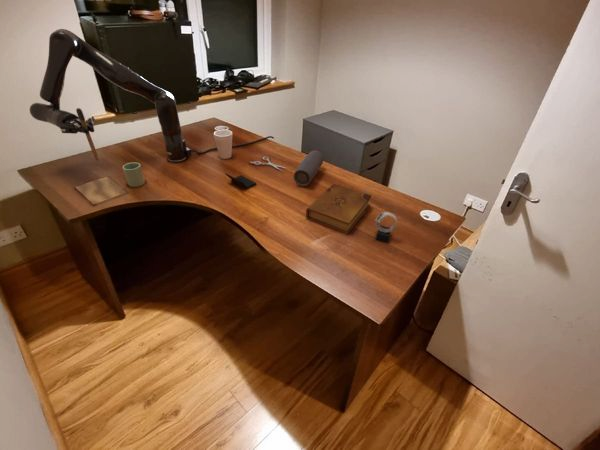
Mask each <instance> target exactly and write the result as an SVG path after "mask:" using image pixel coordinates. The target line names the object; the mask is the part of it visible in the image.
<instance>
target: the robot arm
mask: <svg viewBox="0 0 600 450" xmlns="http://www.w3.org/2000/svg"><path fill="white" fill-rule="evenodd" d="M48 38H49V39H48V57H47V64H46V70H45V72H44V76H43V79H42V83H41V86H40V90H39V97H40V98H41V99H42V100H43V101H45V102H47V103H49V104H47V103H42V102H33V103H32V104H31V105H30V106H29V114H30V116H31V117H32V118H33V119H35V120H36V121H40V122H44V123H48V124H51V125H53V126H55V127H57V128H59V129H60V132H61V133H62V134H72V135H73V134H74V135H75V134H78V133H80V134H81V133H82V134H85V133H86V134H89V133H95V127H94V126H95V125H94V121H93V118H92V117H89V118H88V119H85V121H86V124H87V127H88V129H87V128H85V127H82V124H81V122H80V120H79V117H78V114H75V113H72V112H69V111H67V110H62V109H61V98H62V94H63V90H64V86H65V79H66V73H67V72H66V71H67V69H68V66H69V64H70V62H71V60H72V58H73V57H74V58H76V59H78V60H80V61H83V62H84V63H85V64H86V65H89V66H90V67H91V68H92V69H94V70H95V71H96V72H97V73H98V74H99V75H100V76H102V77H103V78H104V79H105V80H107V81H108V82H110V83H112V84H113V85H115V86H117V87H119V88H120V89H122V90H124V91H127V92H130V93H132V94H136V95H139V96H142V97H143V98H145V99H147V100H148V101H150V102H151V103H152V104H154V105H155V111H156V115H157V120H158V123H159V126H160V131H161V134H162V138H163V143H164V147H165V152H166V155H167V160H168V162H171V163H180V162H184V161H186V160H187V159H188V158H189V156H192V152H194V153H196V154H198V155H203V154H207V153H208V152H211V151H216V150H218V149H217V147H213V148H208V149H207V150H204V151H198V150H195V149H191V148H189V147H187V144H186V141H185V139H184V137H183V133H182V128H181V122H180V117H179V112H178V107H177V100H176V98H175V96H174V95H173V94H172V93H171V92H169V91H167V90H165V89H163V88H161V87H159V86H157V85H155V84H153V83H152V82H149V81H148V80H147V79H145V78H144V77H142V76H141V75H140V74H138V73H137V72H135V71H134V70H132V69H130V68H129V67H128V66H126V65H124V64H122V63H121V62H119V61H117V60H116V59H114V58H113V57H110V56H109V55H107V54H105V53H103V52H101V51H99V50H98V49H97V48H95V47H93V46H92V45H90V44H89V43H88V42H86V41H85V40H84V39H82V38H81V37H79V36H78V35H77V34H76V33H74V32H73V31H71V30H69V29H65V28H59V29H56V30H55V31H53V32H51V33H50V35H49V37H48ZM88 130H89V131H88ZM86 134H85V135H86ZM268 139H273V140H274V139H275V137H274V136H273V135H268V136H266V137H262V138H259V139H257V140H253V141H249V142H245V143H241V144H236V145H232V148H238V147H243V146H248V145H251V144H255V143H258V142H261V141H265V140H268Z"/></svg>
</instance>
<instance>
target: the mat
mask: <svg viewBox="0 0 600 450" xmlns="http://www.w3.org/2000/svg"><path fill="white" fill-rule="evenodd" d="M75 189H76V190H77V191H78V192H79V193H80V194H81V195H82V196H83V197H84V198H85V199H86V200H87V201H88V202H89V203H90V204H91V205H92V206H96V205H97V204H99V203H102V202H104V201H106V200H110V199H113V198H115V197H117V196H120V195H123V194H126V193H127V191H125V189H123V188H122V187H121V186H120V185H119V184H117V183H116V182H115V181H113V179H111V178H110V177H109V176H104V177H101V178H98V179H95V180H92V181H89V182H86V183H83V184H80V185H77V186H75Z"/></svg>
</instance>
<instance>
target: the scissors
mask: <svg viewBox="0 0 600 450" xmlns="http://www.w3.org/2000/svg"><path fill="white" fill-rule="evenodd" d="M262 160H263V161H265V162H261V161H259V160H256V161H249V164H254V165H255V166H260V165H262V166H265V165H266V166H271V167H273V168H275V169H277V170H279V171H280V172H283V170H282V169H281V168H283V169H286V167H284V166H281V165H278V164H274V163H273V162H271V161H270V158H269V156H262Z"/></svg>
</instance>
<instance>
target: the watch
mask: <svg viewBox="0 0 600 450" xmlns="http://www.w3.org/2000/svg"><path fill="white" fill-rule="evenodd" d="M387 217H389V218H391V219H393V220H394V221H395V223H393V225H391V226H390V227H389V226H385V225H381V223H382V222H383V221H384V220H385V218H387ZM374 223H375V228H376V229H377V233H376V237H375V240H376V241H379V242H383V243H388V241H389V238H390V236H391V235H390V234H391V232H393V231H394V230H395V229H396V228H397V226H398V217H397V216H396V214H394V213H393V212H390V211H382V212H380V213H379V214H378V215H377V217H376V218H375V220H374Z"/></svg>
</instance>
